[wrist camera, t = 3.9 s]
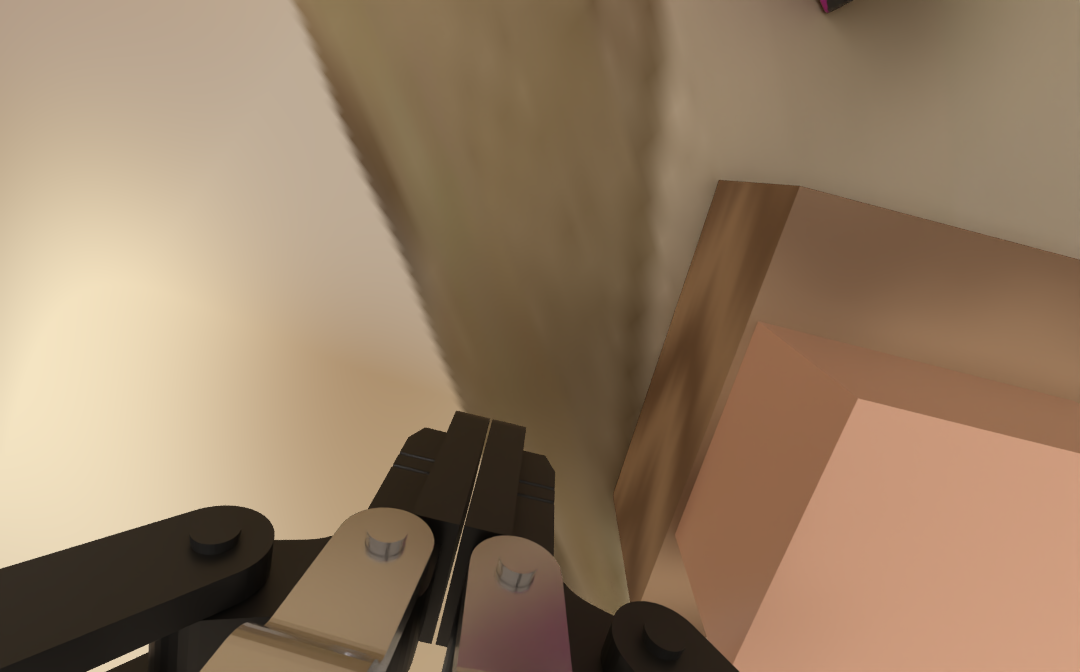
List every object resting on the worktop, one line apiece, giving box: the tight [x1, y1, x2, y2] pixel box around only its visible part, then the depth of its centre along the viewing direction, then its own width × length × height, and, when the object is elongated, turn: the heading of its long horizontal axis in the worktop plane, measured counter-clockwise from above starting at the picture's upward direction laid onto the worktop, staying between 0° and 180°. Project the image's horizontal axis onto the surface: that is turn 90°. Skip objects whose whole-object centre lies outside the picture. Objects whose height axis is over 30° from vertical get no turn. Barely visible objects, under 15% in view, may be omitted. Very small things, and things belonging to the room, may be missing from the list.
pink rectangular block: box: [675, 321, 1080, 672], centre depth 13 cm, size 7×9×5 cm
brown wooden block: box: [613, 180, 1080, 638], centre depth 19 cm, size 14×20×7 cm
